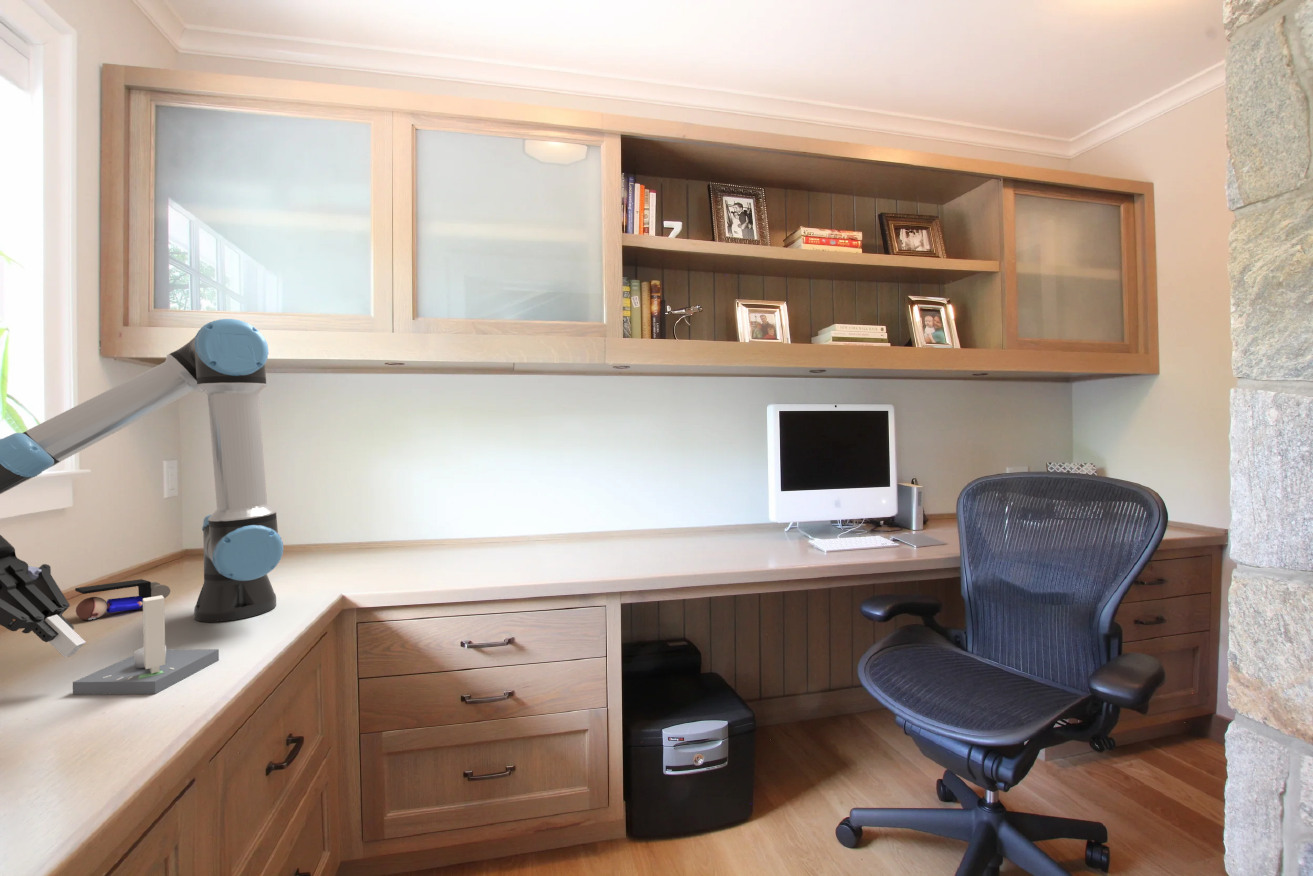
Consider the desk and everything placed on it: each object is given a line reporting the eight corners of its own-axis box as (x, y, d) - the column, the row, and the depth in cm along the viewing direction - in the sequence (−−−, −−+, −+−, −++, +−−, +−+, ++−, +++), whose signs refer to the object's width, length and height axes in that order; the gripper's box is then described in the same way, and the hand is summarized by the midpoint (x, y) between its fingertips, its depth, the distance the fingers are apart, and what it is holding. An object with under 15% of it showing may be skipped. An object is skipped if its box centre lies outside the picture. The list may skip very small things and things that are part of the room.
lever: (133, 663, 95) (131, 593, 95) (164, 656, 98) (163, 588, 98) (139, 677, 90) (137, 602, 89) (171, 669, 93) (170, 597, 92)
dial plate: (146, 660, 102) (146, 649, 102) (218, 660, 102) (218, 648, 102) (72, 694, 89) (72, 681, 89) (155, 694, 89) (155, 680, 89)
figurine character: (156, 608, 137) (69, 619, 124) (161, 576, 137) (74, 583, 124) (168, 612, 133) (79, 624, 120) (172, 580, 134) (84, 588, 121)
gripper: (-1, 555, 97) (99, 650, 97) (-103, 575, 83) (13, 684, 84) (29, 524, 96) (129, 619, 97) (-68, 539, 83) (48, 649, 84)
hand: (75, 649), depth 90 cm, fingers closed
